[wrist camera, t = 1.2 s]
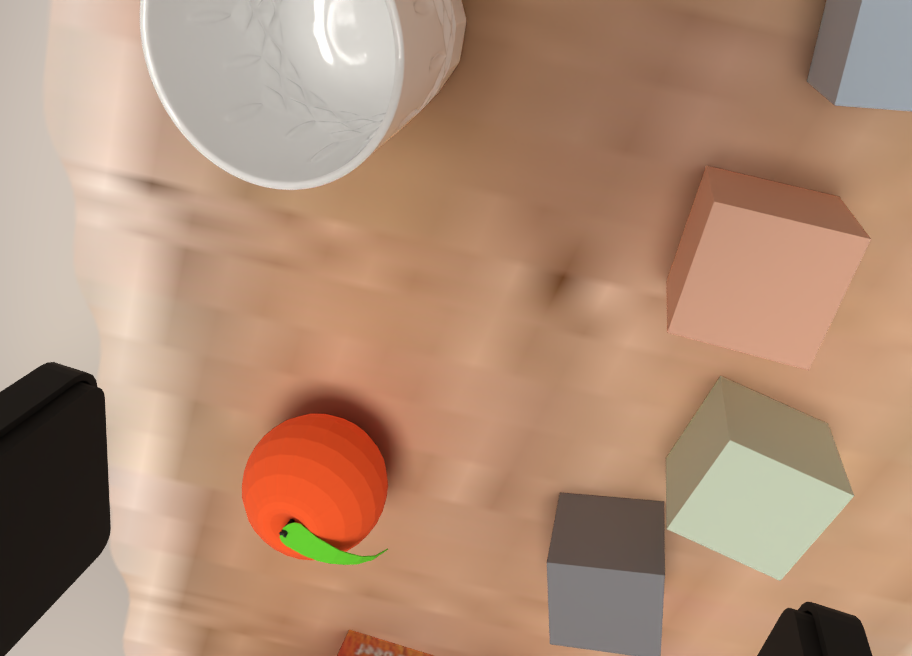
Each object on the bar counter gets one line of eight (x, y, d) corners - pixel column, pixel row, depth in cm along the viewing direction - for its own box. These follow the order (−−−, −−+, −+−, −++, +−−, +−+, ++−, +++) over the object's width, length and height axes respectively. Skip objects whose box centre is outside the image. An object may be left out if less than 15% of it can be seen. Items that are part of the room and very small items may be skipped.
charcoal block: (560, 491, 37) (546, 562, 33) (664, 500, 36) (664, 575, 32) (562, 568, 39) (550, 644, 35) (660, 579, 38) (660, 659, 34)
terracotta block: (706, 164, 29) (714, 201, 24) (838, 195, 28) (871, 239, 24) (666, 280, 31) (667, 332, 27) (787, 311, 30) (809, 370, 26)
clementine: (447, 448, 38) (404, 545, 31) (386, 529, 41) (337, 630, 35) (312, 362, 37) (243, 443, 31) (262, 451, 41) (191, 539, 34)
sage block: (720, 375, 32) (729, 440, 28) (827, 422, 32) (854, 495, 28) (665, 457, 35) (666, 529, 30) (765, 502, 35) (780, 580, 30)
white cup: (515, -36, 27) (447, -33, 19) (436, 157, 31) (349, 234, 22) (323, -130, 27) (167, -171, 19) (269, 74, 31) (118, 118, 23)
